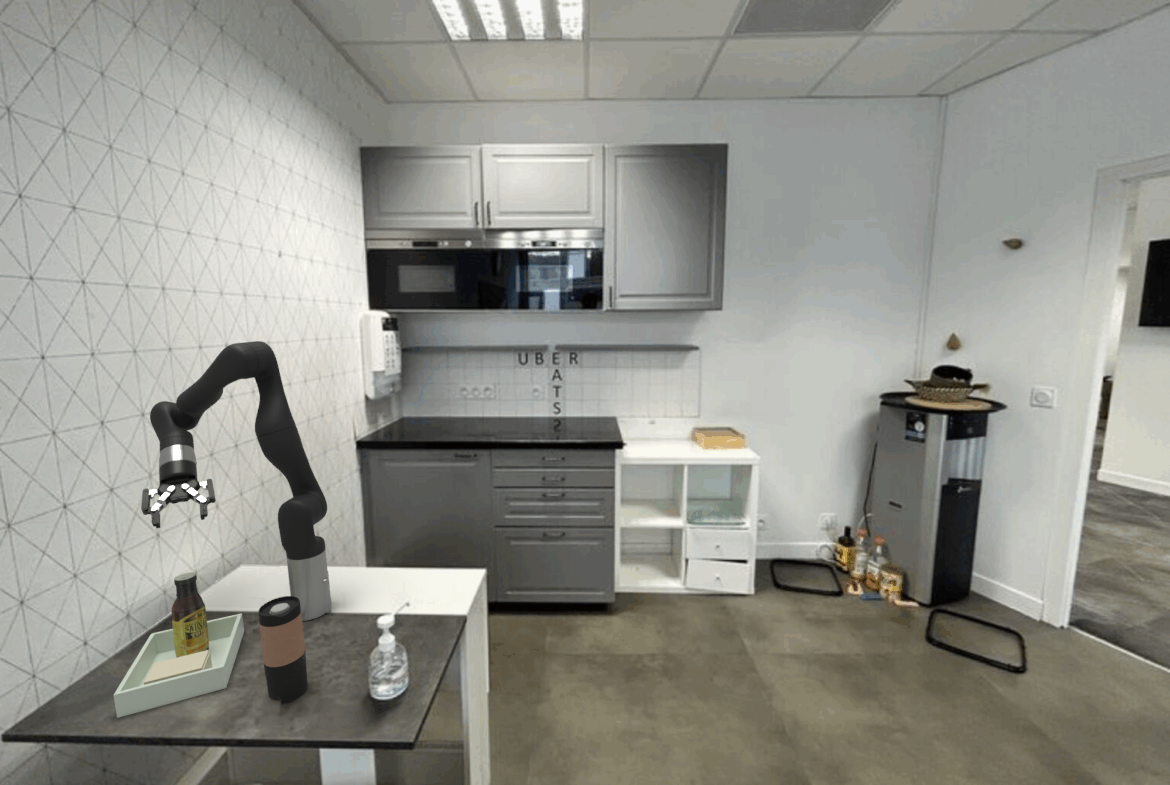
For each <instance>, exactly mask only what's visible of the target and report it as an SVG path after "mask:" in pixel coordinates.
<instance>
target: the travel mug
mask: <svg viewBox="0 0 1170 785" xmlns="http://www.w3.org/2000/svg"><path fill="white" fill-rule="evenodd" d="M258 622H259V632H260V633H259V634H260V640H261V652H262V660H263V662H262V663H263V667H264V668H263V669H264V673H265V680H266V686H267V693H268V697H269V699H271V700H272V701H280V704H281V705H283V704H287V703H289V702H293V701H295V700H297V699H298V698H299V697H301V696H302V695H303V694H304V693H305V692H306V691H307V689H308V671H307V670H308V669H307V657H306V656H307V655H306V654H307V653H306V652H307V651H306V641H305V633H304V624H303V621H302V615H301V607H300V600H299V598H297V597H295V596H291V595H285V596H280V597H276V598H273V599H271V600H268V601H267V602H265V603H264V604H262V605H261V606H260V608H259V609H258Z"/></svg>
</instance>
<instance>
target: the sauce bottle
mask: <svg viewBox="0 0 1170 785" xmlns="http://www.w3.org/2000/svg"><path fill="white" fill-rule="evenodd" d="M197 577H198V576H197V574H196V572H187V573H186V572H185V573H182V574H179V575H177V576H176V577H174V579H173V580H174V582H173V583H174V586H175V588H176V590H175V591H176V594H175V595H176V599H175V600H174V602H173V604H172V607H171V616H172V617H171V623H172V629H173V634H174V645H175V654H176V656H177V657H182V656H186V655H190V654H194V653H198V652H202V651H206V650H209V638H208V628H207V621H208V620H207V609H206V604H205V602H204V600H203V598H202V596H201V594H199V591H198V587H197V586H198V585H197V580H198V578H197ZM177 657H176V658H177Z"/></svg>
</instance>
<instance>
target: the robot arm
mask: <svg viewBox="0 0 1170 785" xmlns="http://www.w3.org/2000/svg"><path fill="white" fill-rule="evenodd" d="M253 378H254V380H255V382H256V386H257V389H258V395H259V404H258V408H257V413H256V417H255V421H254V422H255V423H254V433H255V437H256V439H257V442H258V445H259V447H260V449H261V452H262V454H263V456H264V457H265V458H266V459H267V460H268V462H270V464H271V465H273V466H274V468H276V469H277V470H278V471H279V472H281V473H282V475H283V476H284V477H285V479H286V481H287V483H288V485H289V488H290V490H291V494H292V497H291V498H289V499H288V500H286V501H284V502H283V503H282V504H281V505H280V507H279V509H278V511H277V523H278V531H279V536H280V537H279V538H280V542H281V546H282V548H283V550H284V552H285V554H286V562H287V563H286V564H287V565H286V566H287V574H288V584H289V585H288V586H289V592H290V594H289V595H290V596H295V597H297V598H299V600H300V607H301V615H302V622H303V621H310V620H315V619H317V618H320V617H321V616H324V615H325V613H326V614H328V613H331V612H332V611H331V610H332V597H331V586H330V575H329V570H328V561H327V560H328V559H327V551H326V542H325V539H324V537H322V536H320V535H316V534H315V525H316V524H317V523H319V522H321V521H322V520H323V519H324V518H325V517H326V515H327V513H328V503H327V499H326V497H325V494H324V492H323V490H322V488H321V486H320V485H319V482H318V480H317V478H316V475H315V474H314V471H313V469H312V466H311V464H310V462H309V459H308V456H307V454H306V451H305V449H304V445H303V443H302V439H301V436H300V432H299V430H298V427H297V425H296V423H295V419H294V417H293V415H292V410H291V409H290V405H289V401H288V399H287V396H286V393H285V389H284V385H283V380H282V376H281V372H280V367H279V364H278V360H277V357H276V354H275V352H274V349H273V348H272V347H271V346H270V345H269V344H268V343H267V342H264V341H259V340H255V341H246V342H237V343H236V342H235V343H232V344H229V345H227V346H225V348H223V349H222V350H221V351H220V352H219V353H218V355H217V356H216V358H215V359H214V360H213V361H212V363H211V364H210V365H209V367H208V368H207V369H206V370H205V371H204V373H203V374H202V375H201V376H199V378H198V379H197V380H196V381H195V382H194V383H193V384H191V385H189V387H187V388H186V389H185V390H183V392H181V393H180V394H179V395H178V396H177V398H176V402H172V401H167V400H166V401H165V400H163V401H160V402H157V403H155V404H154V405H153V406H152V408H151V410H150V411H149V412H150V413H149V420H150V424H151V426H152V428H153V430H154V432H155V435H156V438H157V439H158V441H159V458H158V475H159V477H158V478H159V486H158V488H156V489H149V488H143V490H142V495H141V505H140V507H141V508H140V509H141V513H142V514H143V515H145V516H147V515H150V516H151V524H152V526H153V527H155V528H156V529H160V528H161V513H162V511H163V510H164V509H166V508H167V507H168V506H169V505H170V504H173V505H174V504H177V503H178V504H179V503H185V502H189V501H190V500H191V501H193V502H194V503H197V504H198V505H199V515H200V516H199V517H200V520H201V521H202V520H205V518H207V517H208V513H209V512H208V505H210V504H214V503H216V501H217V500H216V499H217V498H216V495H215V489H214V488H215V487H214V483H213V480H212V478H207V479H206V480H205V481H202V482H201V481H199V480H198V470H197V457H196V453H195V444H194V436H193V434H192V433H191V432H190V430H193V429H195V428H196V427H197V426H198V424H199V422H200V421H201V418H202V416H203V415H204V413H205V412H206V411H208V410H209V409H210V408H211V407H213V406H214V405H216V403H217V402H218V401H220V399H221V398H222V396H223V393H224V388H225V387H227V386H228V385H230V384H232V383H235V382H236V381H239V380H248V379H253ZM201 488H203V490H206V491H207V493H208V496H206V497H204V496H203V495H202V494H201V493H199V492H198V491H199V490H200V489H201ZM157 495H158V496H159V498H158V499H157V501H156V502H155V504H154V505H153V506H151V500H153V499H154V498H155V496H157Z"/></svg>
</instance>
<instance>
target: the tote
mask: <svg viewBox="0 0 1170 785" xmlns="http://www.w3.org/2000/svg"><path fill="white" fill-rule="evenodd" d="M244 627H245V626H244V620H243V612H242V613H237V614H233V615H229V616H223V617H219V618H215V619H209V620H207V628H208V638H209V652H211V660H212V668H208V669H204V670H201V671H197V672H193V673H189V674H185V675H181V676H177V677H173V678H169V679H166V680H162V681H158V682H154V683H150V684H146V685H143V684H144V681H145V679H146V678H147V676H148V674H149V672H150V670H151V668H152V667H153V665H154V663H157V662H161V661H165V660H169V659H173V658H176V657H177V656H176V654H175V645H174V634H173V628H169V629H166V630H165V629H164V630H161V631H156V632H152V633H150V635H149V637H148V638H147V640H146V641H145V643H144V645H143V646H142V648H141V649H140V651H139V653H138V654H137V656H136V658H135V659H134V661H133V663H132V664H131V666H130V667H129V669H128V670H127V672H126V674H125V675H124V677H123V679H122V680H121V682H120V684H119V685H118V687H117V689H116V690H115V692H114V694H113V702H114V706H115V712H116V718H117V719H118V718H122V717H126V716H129V715H133V714H137V713H141V712H144V711H147V710H151V709H152V710H153V709H155V708H158V707H163V706H166V705H170V704H173V703H174V704H175V703H176V702H181V701H184V700H187V699H191V698H195V697H199V696H202V695H206V694H209V693H213V692H217V691H220V690H223V689H227V687H228V685H229V682H230V681H229V680H230V679H231V675H232V671H233V668H234V665H235V662H236V659H237V656H238V653H239V649H240V645H241V643H242V639H243V637H244V633H245V628H244Z"/></svg>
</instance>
